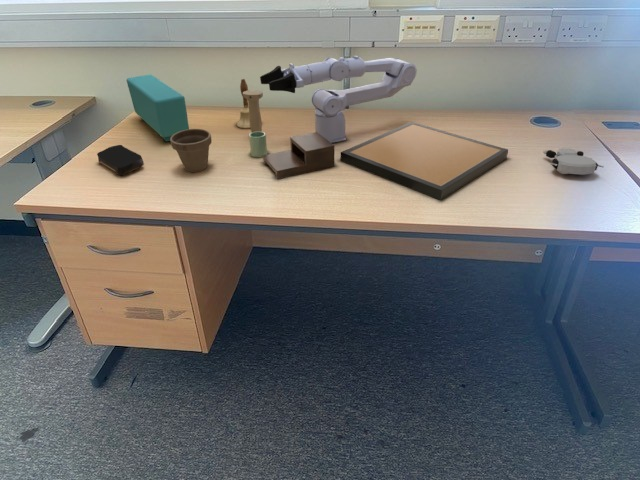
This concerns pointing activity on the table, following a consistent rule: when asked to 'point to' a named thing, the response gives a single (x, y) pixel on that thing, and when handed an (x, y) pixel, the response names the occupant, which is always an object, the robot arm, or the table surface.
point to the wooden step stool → (307, 145)
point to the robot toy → (571, 162)
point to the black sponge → (120, 159)
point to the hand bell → (244, 112)
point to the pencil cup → (258, 144)
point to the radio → (158, 105)
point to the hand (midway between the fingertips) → (265, 83)
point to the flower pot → (192, 148)
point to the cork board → (425, 158)
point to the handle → (254, 109)
